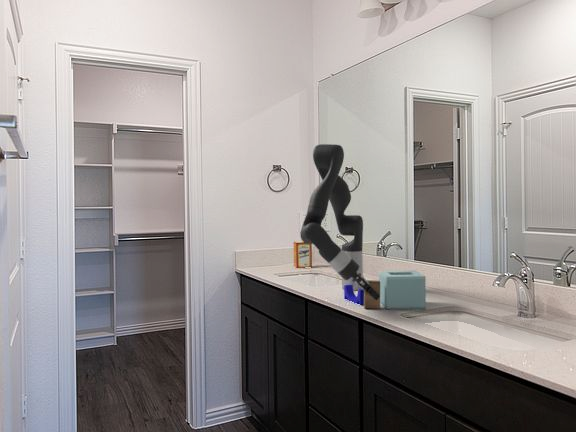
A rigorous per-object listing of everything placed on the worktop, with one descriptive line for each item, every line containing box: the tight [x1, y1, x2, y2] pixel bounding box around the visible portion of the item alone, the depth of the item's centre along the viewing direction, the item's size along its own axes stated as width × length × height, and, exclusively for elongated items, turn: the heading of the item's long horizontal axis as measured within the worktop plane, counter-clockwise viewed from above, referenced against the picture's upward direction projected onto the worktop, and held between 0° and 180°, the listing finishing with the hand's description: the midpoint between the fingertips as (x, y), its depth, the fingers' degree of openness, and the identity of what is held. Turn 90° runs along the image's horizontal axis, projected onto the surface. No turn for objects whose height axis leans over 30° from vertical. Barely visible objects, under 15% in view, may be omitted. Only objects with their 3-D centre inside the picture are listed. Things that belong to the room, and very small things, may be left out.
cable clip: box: [343, 285, 364, 306], centre depth 176 cm, size 12×4×6 cm, turn 23°
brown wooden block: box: [363, 279, 381, 310], centre depth 165 cm, size 3×6×10 cm, turn 89°
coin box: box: [378, 270, 427, 311], centre depth 169 cm, size 14×14×12 cm
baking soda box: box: [293, 240, 313, 269], centre depth 274 cm, size 10×6×16 cm
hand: (377, 297), depth 165 cm, fingers closed on brown wooden block, 3 cm apart
